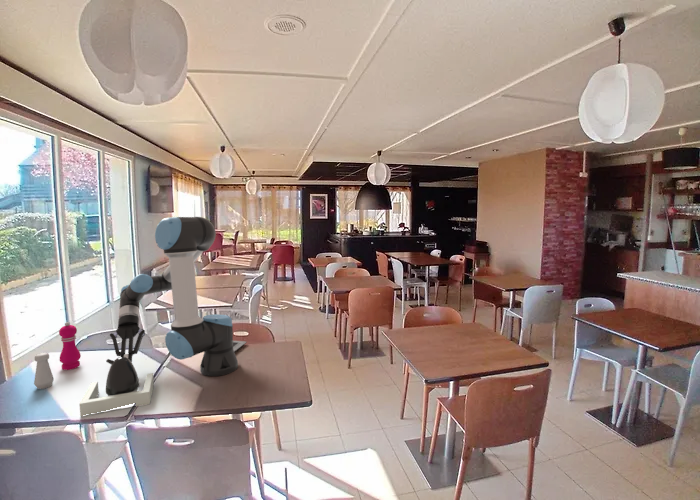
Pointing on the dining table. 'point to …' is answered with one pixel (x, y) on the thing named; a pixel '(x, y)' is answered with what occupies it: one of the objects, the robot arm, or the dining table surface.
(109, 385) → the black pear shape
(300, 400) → the dining table surface
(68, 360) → the pepper mill
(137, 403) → the bay
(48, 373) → the salt shaker
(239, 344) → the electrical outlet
